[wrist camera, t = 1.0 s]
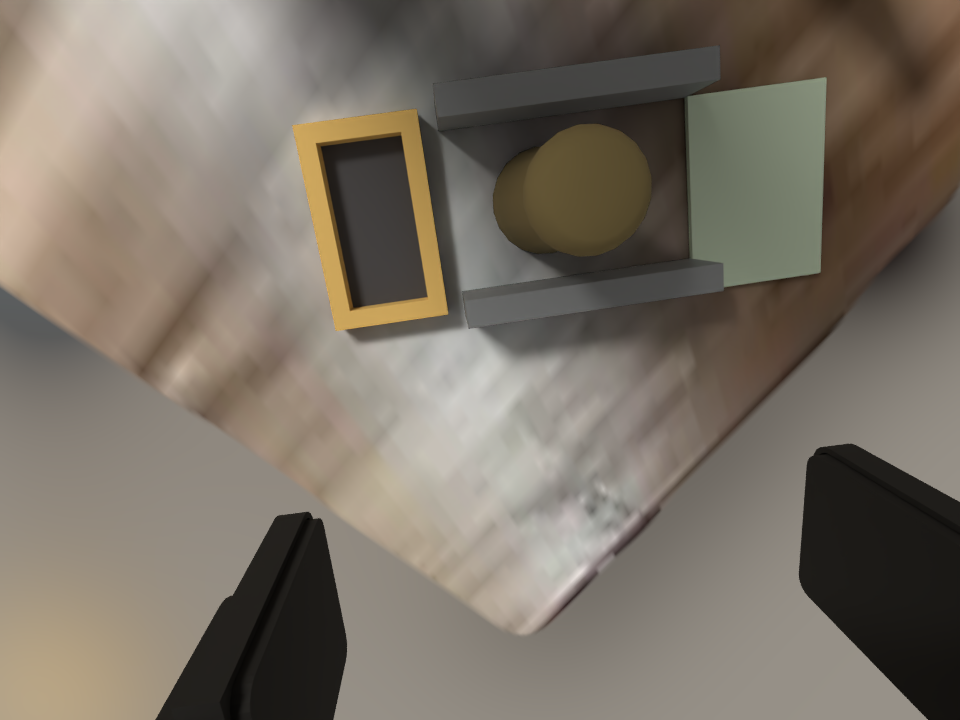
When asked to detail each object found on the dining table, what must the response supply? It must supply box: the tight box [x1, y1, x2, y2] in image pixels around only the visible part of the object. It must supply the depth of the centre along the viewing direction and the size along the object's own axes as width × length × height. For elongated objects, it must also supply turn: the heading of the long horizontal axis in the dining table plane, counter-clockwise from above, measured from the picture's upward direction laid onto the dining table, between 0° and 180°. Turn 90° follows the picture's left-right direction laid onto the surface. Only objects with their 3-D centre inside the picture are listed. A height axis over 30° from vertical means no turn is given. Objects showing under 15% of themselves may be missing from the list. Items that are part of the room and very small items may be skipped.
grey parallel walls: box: [433, 45, 724, 329], centre depth 29 cm, size 12×14×4 cm
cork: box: [493, 124, 652, 257], centre depth 25 cm, size 6×6×11 cm
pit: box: [292, 109, 448, 331], centre depth 30 cm, size 11×6×2 cm, turn 8°
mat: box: [684, 77, 827, 287], centre depth 31 cm, size 11×8×1 cm
